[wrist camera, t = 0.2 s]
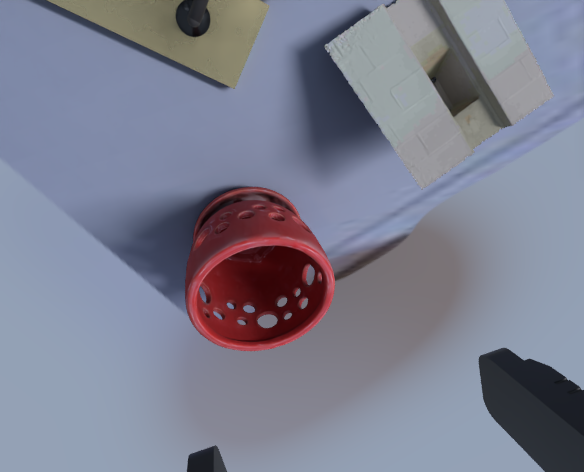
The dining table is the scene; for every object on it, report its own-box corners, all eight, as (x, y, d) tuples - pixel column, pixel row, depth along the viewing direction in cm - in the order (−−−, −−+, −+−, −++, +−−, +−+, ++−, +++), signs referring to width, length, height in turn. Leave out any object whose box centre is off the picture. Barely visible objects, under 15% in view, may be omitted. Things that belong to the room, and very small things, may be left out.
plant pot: (264, 150, 39) (298, 208, 29) (317, 238, 47) (357, 307, 37) (154, 217, 40) (151, 296, 30) (224, 293, 48) (240, 375, 38)
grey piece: (313, 94, 41) (401, 208, 40) (319, 45, 33) (431, 188, 31) (436, 8, 42) (525, 116, 41) (473, -62, 34) (588, 72, 32)
